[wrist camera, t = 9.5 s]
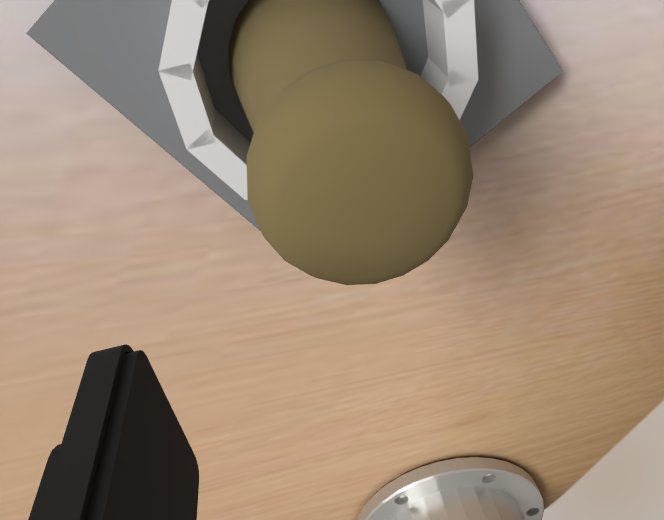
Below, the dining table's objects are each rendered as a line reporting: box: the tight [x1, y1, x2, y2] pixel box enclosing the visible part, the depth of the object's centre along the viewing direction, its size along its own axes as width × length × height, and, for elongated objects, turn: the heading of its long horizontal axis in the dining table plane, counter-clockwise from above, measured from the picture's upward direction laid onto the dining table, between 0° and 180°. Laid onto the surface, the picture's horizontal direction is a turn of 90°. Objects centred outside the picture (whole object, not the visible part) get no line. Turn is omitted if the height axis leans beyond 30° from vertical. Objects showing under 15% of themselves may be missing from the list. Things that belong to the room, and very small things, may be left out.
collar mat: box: [27, 0, 563, 230], centre depth 21 cm, size 14×13×4 cm
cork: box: [228, 0, 473, 285], centre depth 17 cm, size 6×6×11 cm
